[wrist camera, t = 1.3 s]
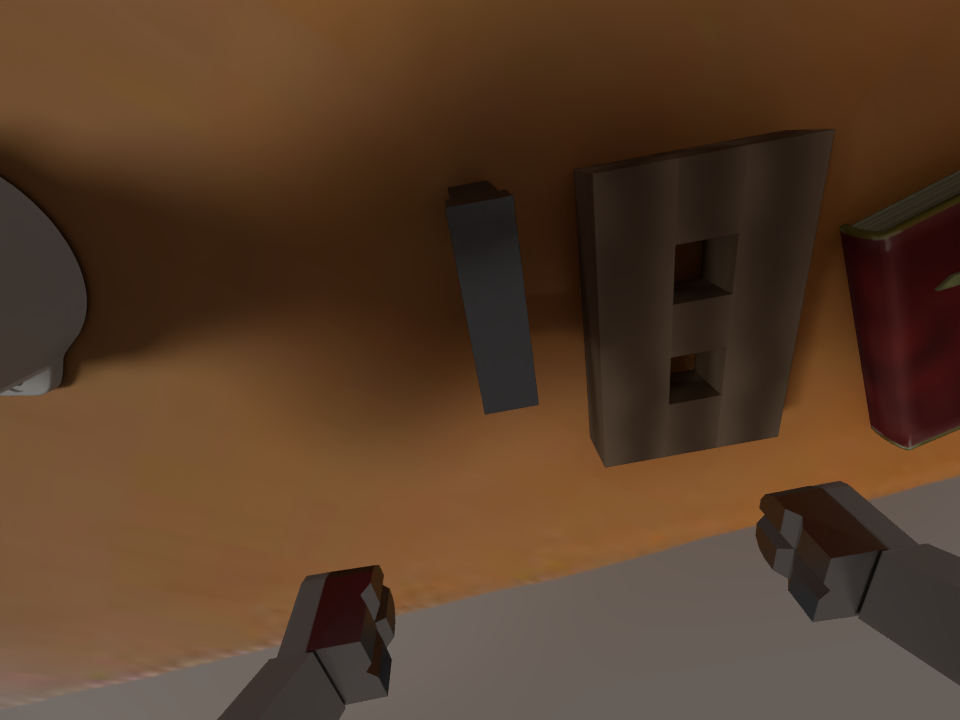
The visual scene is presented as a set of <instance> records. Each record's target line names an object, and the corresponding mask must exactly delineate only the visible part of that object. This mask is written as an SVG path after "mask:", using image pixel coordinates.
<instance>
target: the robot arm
mask: <svg viewBox="0 0 960 720" xmlns="http://www.w3.org/2000/svg"><path fill="white" fill-rule="evenodd" d="M86 309H87V296H86V288H85V283H84V279H83V276H82V273H81V270H80V267H79V265H78V262H77V260H76V258H75V256H74V254H73V252H72V250H71V249H70V247H69V245H68V244H67V242H66V241H65V239H64V237H63V236H62V235H61V233H60V232H59V230H58V229H57V228H56V227H55V225H54V224H53V223H52V222H51V221H50V219H49V218H48V217H47V216H46V215H45V214H44V213H43V212H42V211H41V210H40V209H39V208H38V207H37V206H36V205H35V204H34V203H33V202H32V201H31V200H30V199H29V198H28V197H26V196H25V195H24V194H23V193H22V192H20V191H19V190H18V189H17V188H15V187H14V186H13V185H11V184H10V183H9V182H7V181H6V180H4V179H3V178H1V177H0V396H21V395H43V394H46V393H48V392H50V391H52V390H54V389H56V388H57V387H59V385H60V384H61V381H62V376H63V357H64V355H65V353H66V351H67V350H68V348H69V347H70V346H71V344H72V343H73V342H74V340H75V339H76V338H77V336H78V335H79V333H80V331H81V329H82V326H83V323H84V320H85V316H86ZM759 508H760V509H761V511H762V512H763V513H764V514H765V515H764V516H763V517H762V518H761V519H760V520H759V522H758V523H757V526H756V539H757V542H758V546H759V549H760V551H761V553H762V554H763V557H764V558H765V560H766V561H767V562H768V564H769V565H770V567H771V568H772V569H773V570H774V571H776V572H777V573H779V574H781V575H783V576H784V577H786V578H788V591H789V592H790V593H791V594H792V596H793V597H794V598H795V600H796V601H797V602H798V603H799V605H800V606H801V607H802V609H803V610H804V611H805V613H806V614H807V615H808V617H809V618H810V619H811V620H812V621H813V622H817V621H824V620H831V619H838V618H845V617H852V616H859V617H858V618H859V619H860V620H862V621H863V622H865V623H866V624H868V625H869V626H871V627H872V628H874V629H875V630H877V631H878V632H880V633H881V634H883V635H884V636H886V637H887V638H889V639H890V640H892V641H893V642H895V643H897V644H898V645H899V646H901V647H903V648H904V649H905V650H907V651H908V652H910V653H912V654H913V655H915V656H916V657H918V658H919V659H921V660H922V661H924V662H925V663H927V664H928V665H930V666H931V667H933V668H934V669H936V670H937V671H939V672H940V673H942V674H943V675H945V676H946V677H948V678H949V679H951V680H952V681H954V682H955V683H957V684H958V685H960V557H958V556H956V555H953V554H951V553H948V552H946V551H944V550H941V549H939V548H937V547H934V546H932V545H929V544H921V545H919V544H918V543H916V542H915V541H914V540H913V539H912V538H911V537H909V536H908V535H907V534H906V533H905V532H903V531H902V530H901V529H900V528H899V527H898V526H896V525H895V524H894V523H893V522H892V521H891V520H889V519H888V518H887V517H886V516H885V515H883V514H882V513H881V512H880V511H878V509H876V508H875V507H874V506H873V505H872V504H871V503H869V502H868V501H867V500H866V499H865V498H863V497H862V496H861V495H860V494H859V493H858V492H856V491H855V490H854V489H853V488H852V487H851V486H849V485H848V484H846V483H843V482H841V481H837V482H831V483H826V484H820V485H815V486H806V487H801V488H796V489H791V490H786V491H781V492H775V493H770V494H765V495H764V496H763V497H762V499H761V502H760V507H759ZM383 578H384V574H383V572H382V570H381V568H380V566H379V565H373V566H366V567H360V568H353V569H346V570H340V571H333V572H327V573H321V574H315V575H309V576H306V578H305V579H304V581H303V582H302V584H301V586H300V589H299V592H298V595H297V598H296V601H295V604H294V607H293V610H292V613H291V616H290V619H289V622H288V625H287V628H286V631H285V634H284V637H283V640H282V644H281V647H280V650H279V653H278V656H277V658H274V659H269V660H268V662H267V663H266V664H265V665H264V666H263V667H262V668H261V670H260V671H259V672H258V673H257V674H256V675H255V677H254V678H253V679H252V680H251V681H250V682H249V684H248V685H247V686H246V687H245V688H244V689H243V690H242V692H241V693H240V694H239V695H238V696H237V697H236V699H235V700H234V701H233V702H232V703H231V705H230V706H229V707H228V708H227V709H226V710H225V711H224V713H223V714H222V715H221V716H220V717H219V718H218V719H217V720H339V719H340V717H341V715H342V713H343V712H344V710H345V705H347V704H351V703H357V702H362V701H367V700H371V699H376V698H381V697H386V696H388V690H389V680H390V671H391V662H392V659H391V657H390V654H389V652H388V650H387V646H388V645H389V643H390V642H391V640H392V639H393V638H394V633H395V632H394V631H395V606H394V601H393V596H392V594H391V591H390V589H389V588H387V587H386V586H384V585H383Z"/></svg>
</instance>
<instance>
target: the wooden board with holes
mask: <svg viewBox="0 0 960 720" xmlns="http://www.w3.org/2000/svg"><path fill="white" fill-rule="evenodd" d="M834 133H835V129H821V130H785V131H779V132H774V133H769V134H763V135H758V136H752V137H747V138H742V139H736V140H731V141H725V142H720V143H715V144H709V145H704V146H698V147H693V148H687V149H682V150H677V151H671V152H666V153H660V154H655V155H650V156H644V157H639V158H633V159H628V160H623V161H617V162H612V163H606V164H601V165H595V166H590V167H585V168H579V169H574V177H575V193H576V210H577V227H578V243H579V260H580V277H581V293H582V310H583V327H584V343H585V360H586V377H587V393H588V410H589V426H590V438H591V440H592V442H593V444H594V446H595V448H596V450H597V452H598V454H599V456H600V458H601V460H602V462H603V464H604V466H605V468H606V467H611V466H617V465H622V464H628V463H633V462H639V461H644V460H650V459H656V458H661V457H667V456H672V455H678V454H683V453H689V452H694V451H700V450H706V449H711V448H717V447H722V446H728V445H733V444H739V443H744V442H750V441H756V440H761V439H767V438H772V437H778V434H779V428H780V423H781V418H782V412H783V407H784V401H785V396H786V391H787V385H788V380H789V375H790V369H791V364H792V358H793V353H794V348H795V342H796V337H797V332H798V326H799V321H800V315H801V310H802V305H803V299H804V294H805V289H806V283H807V278H808V272H809V267H810V262H811V256H812V251H813V246H814V240H815V235H816V229H817V224H818V219H819V213H820V208H821V203H822V197H823V192H824V186H825V181H826V176H827V170H828V165H829V160H830V154H831V149H832V143H833V138H834ZM701 240H703V255H702V269H701V277H699V278H693V279H688V280H682V281H677V282H674V269H675V245H679V244H684V243H690V242H695V241H701ZM695 353H696V354H695ZM689 354H695V368H694V370H691V371H686V372H680V373H675V374H670V366H671V358H672V357H678V356H683V355H689Z"/></svg>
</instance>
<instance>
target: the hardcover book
mask: <svg viewBox="0 0 960 720" xmlns="http://www.w3.org/2000/svg"><path fill="white" fill-rule="evenodd" d="M840 233H841V239H842V245H843V252H844V258H845V265H846V271H847V277H848V284H849V290H850V296H851V303H852V309H853V316H854V322H855V328H856V335H857V341H858V347H859V354H860V360H861V367H862V373H863V379H864V386H865V392H866V398H867V405H868V411H869V417H870V424H871V428H872V429H873V430H874V431H875V432H876V433H877V434H878V435H880V436H881V437H882V438H883V439H885V440H887V441H888V442H890V443H892V444H894V445H896V446H898V447H900V448H902V449H905V450H911V449H914V448H916V447H919V446H921V445H923V444H926V443H928V442H930V441H933V440H935V439H938V438H940V437H942V436H945V435H947V434H950V433H952V432H954V431H957V430H959V429H960V170H959V171H957V172H955V173H953V174H951V175H949V176H947V177H945V178H943V179H941V180H939V181H937V182H935V183H933V184H931V185H929V186H928V187H926V188H924V189H922V190H920V191H918V192H916V193H914V194H912V195H910V196H908V197H906V198H904V199H902V200H900V201H898V202H896V203H894V204H892V205H891V206H889V207H887V208H885V209H883V210H881V211H879V212H877V213H875V214H873V215H871V216H869V217H867V218H865V219H863V220H861V221H859V222H857V223H856V224H854V225H852V226H849V225H847V224H844V225H842V226H840Z"/></svg>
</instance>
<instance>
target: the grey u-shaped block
mask: <svg viewBox="0 0 960 720" xmlns="http://www.w3.org/2000/svg"><path fill="white" fill-rule="evenodd" d="M448 192H449V200H447V201H445V209H446V214H447V219H448V225H449V230H450V235H451V240H452V245H453V251H454V256H455V261H456V266H457V271H458V277H459V282H460V287H461V292H462V297H463V303H464V308H465V313H466V318H467V323H468V329H469V334H470V339H471V344H472V349H473V355H474V360H475V365H476V370H477V375H478V381H479V386H480V391H481V396H482V401H483V407H484V412H485V414H491V413H496V412H502V411H507V410H513V409H518V408H524V407H529V406H535V405H539V403H538V395H537V387H536V379H535V371H534V362H533V354H532V346H531V338H530V330H529V322H528V313H527V305H526V297H525V289H524V281H523V273H522V264H521V256H520V248H519V240H518V232H517V224H516V215H515V207H514V199H513V195H512V194H510V193H509V192H508V191H507V190H501V191H498V190H497V189H496V188H495V187H494V186H493V185H492V184H491V183H490V182H488V181H482V182H476V183H471V184H466V185H460V186H455V187H449V188H448Z"/></svg>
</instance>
